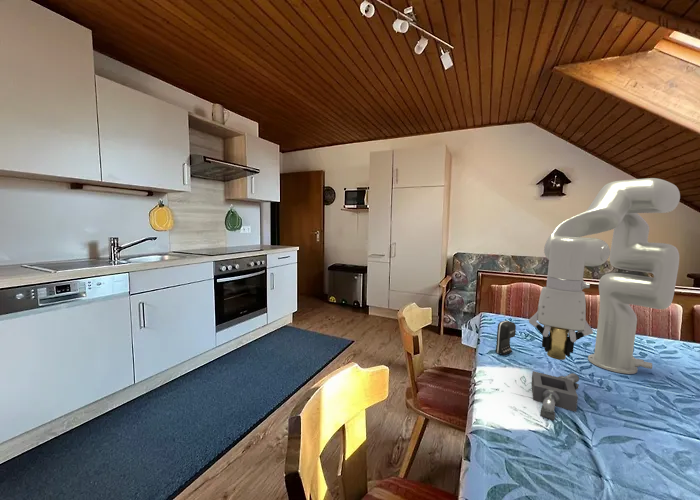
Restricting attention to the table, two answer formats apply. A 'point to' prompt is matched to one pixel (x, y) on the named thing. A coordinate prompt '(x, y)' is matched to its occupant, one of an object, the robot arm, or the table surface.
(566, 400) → the grey square frame
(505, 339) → the battery charger
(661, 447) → the table surface
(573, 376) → the shaft
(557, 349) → the yellow cylinder
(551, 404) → the shaft
